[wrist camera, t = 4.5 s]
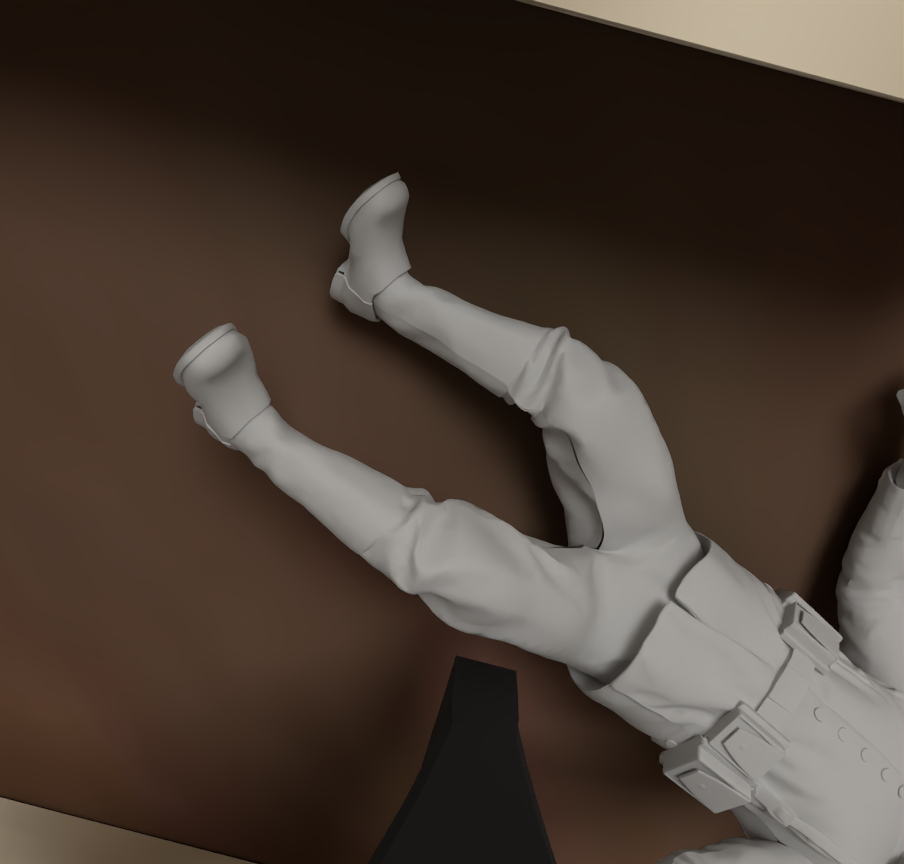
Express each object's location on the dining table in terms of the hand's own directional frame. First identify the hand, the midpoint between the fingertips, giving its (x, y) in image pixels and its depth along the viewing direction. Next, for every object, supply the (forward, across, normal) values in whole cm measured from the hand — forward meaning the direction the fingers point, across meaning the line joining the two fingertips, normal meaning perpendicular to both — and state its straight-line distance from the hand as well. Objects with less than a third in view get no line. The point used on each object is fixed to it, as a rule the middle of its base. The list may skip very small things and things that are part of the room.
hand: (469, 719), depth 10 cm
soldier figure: (+3, -2, -2) cm, 4 cm away
